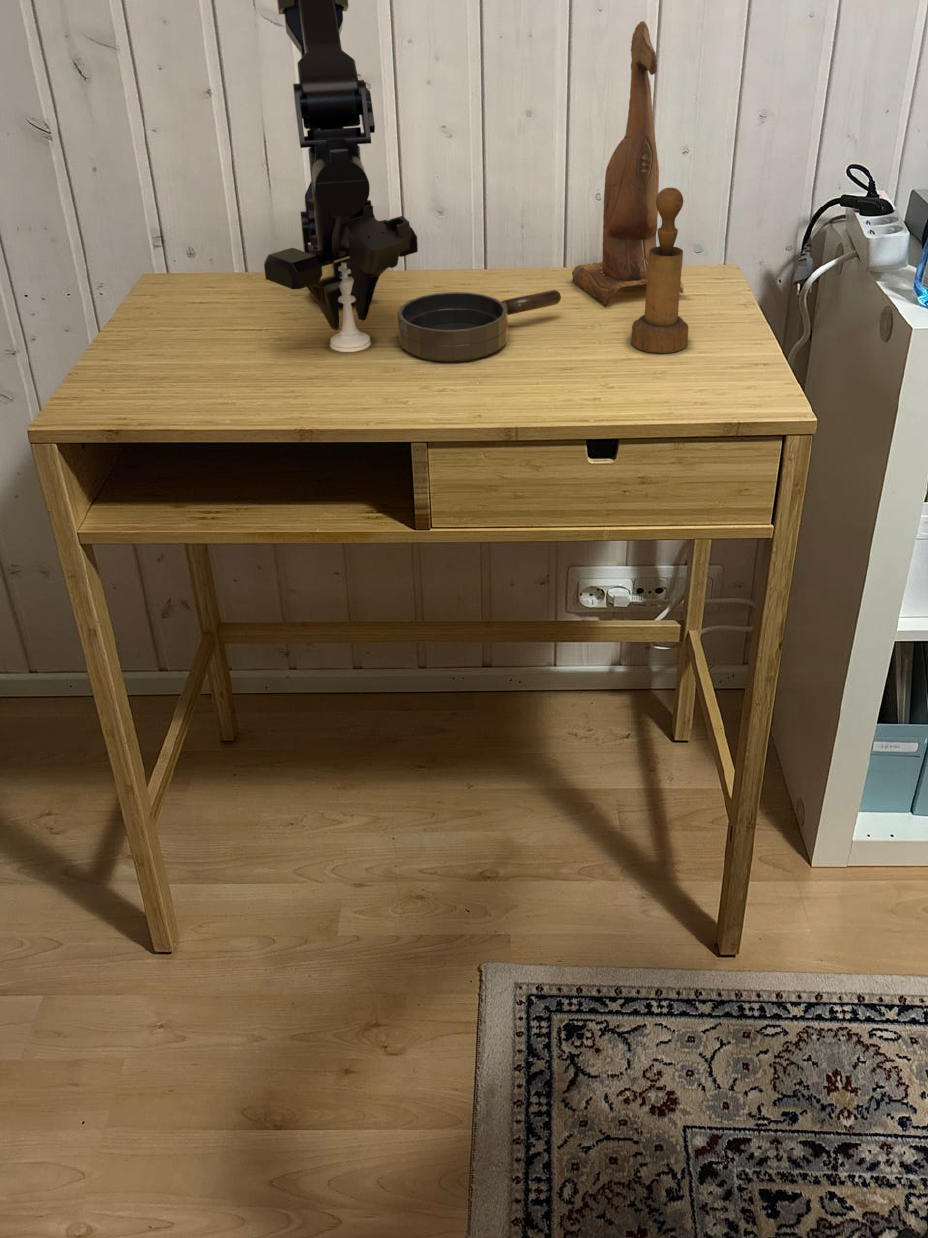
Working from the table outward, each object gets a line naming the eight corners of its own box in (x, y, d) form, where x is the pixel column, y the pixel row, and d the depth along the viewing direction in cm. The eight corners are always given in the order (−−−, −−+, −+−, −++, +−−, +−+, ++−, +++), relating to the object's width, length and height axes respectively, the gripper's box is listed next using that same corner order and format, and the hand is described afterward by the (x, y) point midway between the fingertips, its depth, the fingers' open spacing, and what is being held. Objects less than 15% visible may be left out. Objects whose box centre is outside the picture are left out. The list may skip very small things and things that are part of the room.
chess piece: (352, 333, 146) (346, 253, 140) (379, 343, 143) (373, 262, 137) (321, 344, 143) (314, 263, 137) (347, 355, 140) (340, 272, 134)
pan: (382, 335, 145) (380, 304, 143) (475, 316, 150) (474, 285, 147) (429, 372, 135) (427, 339, 133) (526, 349, 140) (527, 317, 138)
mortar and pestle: (685, 333, 143) (699, 180, 133) (688, 354, 138) (702, 197, 127) (630, 333, 144) (639, 180, 133) (631, 353, 138) (641, 196, 128)
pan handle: (500, 319, 143) (500, 304, 142) (493, 314, 144) (492, 300, 143) (563, 305, 146) (563, 291, 145) (556, 300, 147) (556, 286, 146)
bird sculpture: (608, 310, 150) (621, 33, 132) (568, 282, 159) (576, 19, 141) (685, 297, 153) (708, 25, 135) (642, 270, 162) (658, 12, 144)
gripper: (315, 223, 122) (329, 365, 131) (447, 187, 133) (451, 320, 142) (253, 203, 129) (270, 339, 138) (383, 170, 140) (391, 298, 148)
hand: (348, 324), depth 141 cm, fingers open, 4 cm apart
